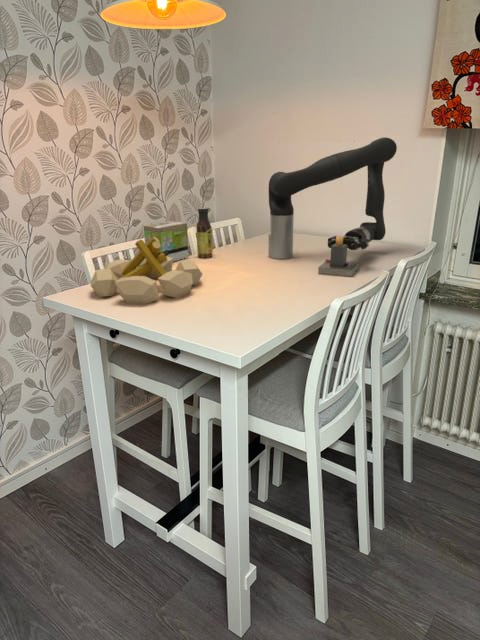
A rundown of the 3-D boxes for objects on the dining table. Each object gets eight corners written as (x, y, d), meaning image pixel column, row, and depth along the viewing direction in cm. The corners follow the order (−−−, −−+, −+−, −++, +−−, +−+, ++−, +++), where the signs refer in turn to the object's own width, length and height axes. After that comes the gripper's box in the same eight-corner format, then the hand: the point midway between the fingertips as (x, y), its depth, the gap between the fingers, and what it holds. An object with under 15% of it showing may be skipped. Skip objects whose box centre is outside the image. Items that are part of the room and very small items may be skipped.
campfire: (220, 283, 168) (218, 233, 162) (153, 312, 141) (148, 254, 135) (144, 270, 186) (140, 225, 180) (72, 294, 159) (64, 242, 153)
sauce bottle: (212, 258, 200) (210, 209, 193) (196, 258, 201) (194, 209, 194) (213, 254, 207) (211, 206, 200) (198, 255, 207) (196, 207, 200)
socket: (318, 274, 175) (318, 265, 174) (326, 266, 185) (326, 258, 184) (351, 277, 170) (352, 268, 169) (358, 268, 181) (358, 260, 180)
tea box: (163, 265, 191) (160, 227, 186) (145, 262, 197) (142, 225, 192) (189, 258, 202) (187, 222, 197) (172, 255, 208) (169, 220, 203)
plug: (330, 270, 177) (331, 237, 173) (333, 267, 181) (335, 235, 176) (342, 272, 175) (344, 238, 171) (345, 269, 179) (347, 236, 175)
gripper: (340, 226, 190) (322, 234, 177) (376, 230, 182) (360, 237, 170) (339, 246, 193) (321, 254, 180) (374, 249, 185) (358, 258, 173)
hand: (340, 246), depth 175 cm, fingers open, 8 cm apart
